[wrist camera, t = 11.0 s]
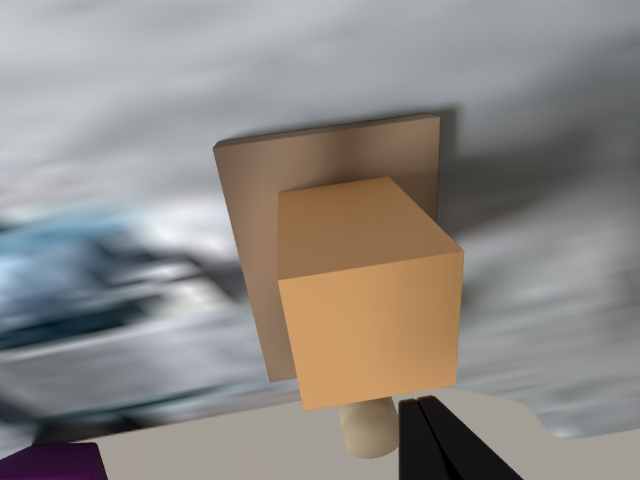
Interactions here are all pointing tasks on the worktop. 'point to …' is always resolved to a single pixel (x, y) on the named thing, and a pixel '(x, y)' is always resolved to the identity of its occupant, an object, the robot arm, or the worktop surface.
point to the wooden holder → (308, 172)
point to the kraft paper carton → (367, 293)
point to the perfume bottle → (54, 463)
